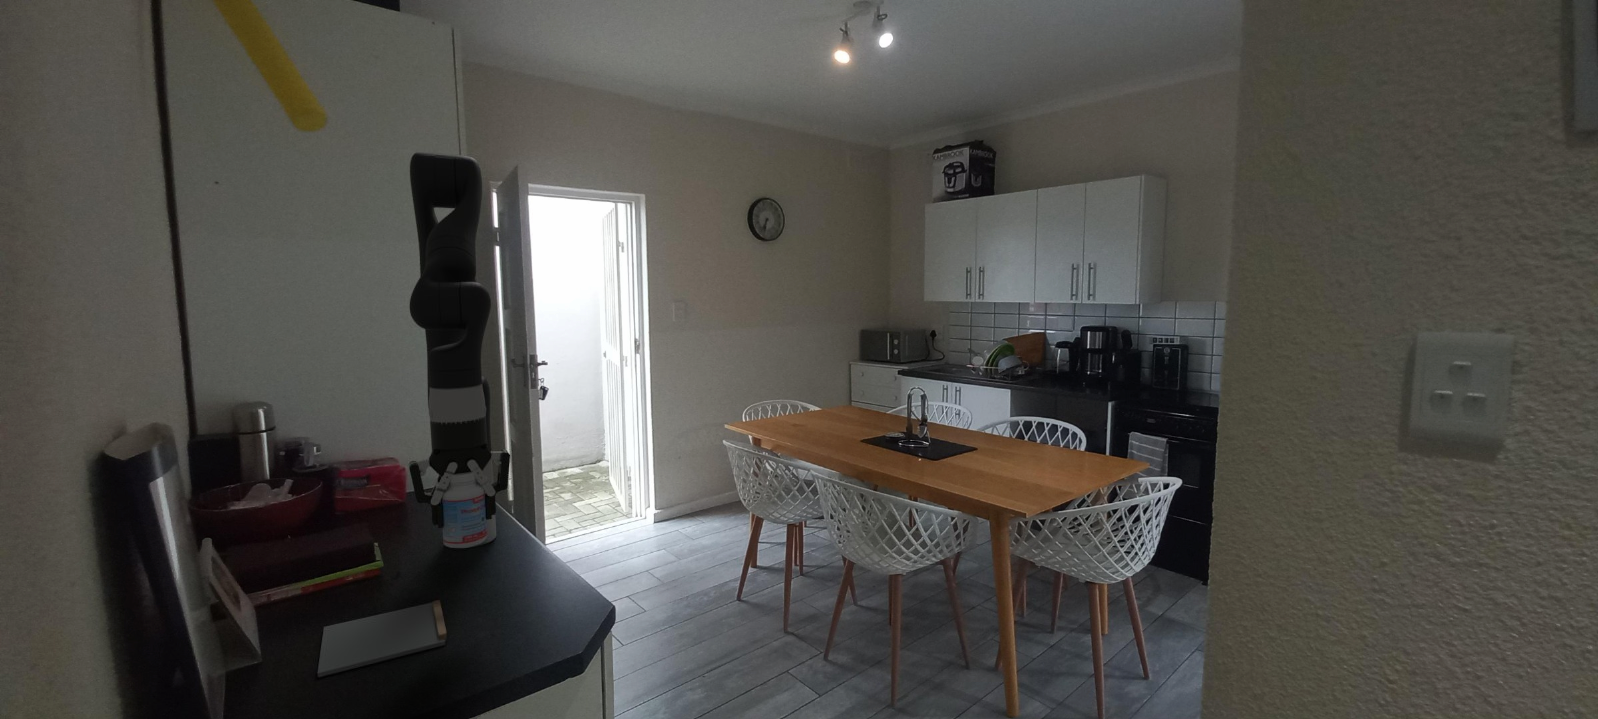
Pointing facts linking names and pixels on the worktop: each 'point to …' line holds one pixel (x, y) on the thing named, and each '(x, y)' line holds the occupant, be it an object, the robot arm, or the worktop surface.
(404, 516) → the worktop surface
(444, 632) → the bar
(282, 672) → the worktop surface
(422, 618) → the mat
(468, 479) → the pill bottle
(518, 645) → the worktop surface
